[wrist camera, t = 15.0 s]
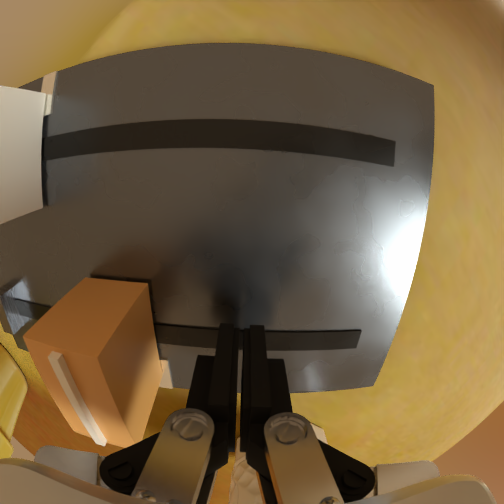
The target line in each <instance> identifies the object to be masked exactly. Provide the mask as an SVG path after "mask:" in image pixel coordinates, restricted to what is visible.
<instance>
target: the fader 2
mask: <svg viewBox="0 0 504 504" xmlns="http://www.w3.org/2000/svg"><path fill="white" fill-rule="evenodd" d="M23 339H24V341H25V343H26V346H27V348H28V350H29V353H30V355H31V357H32V359H33V361H34V364H35V366H36V368H37V370H38V372H39V374H40V376H41V378H42V380H43V381H44V383H45V385H46V387H47V389H48V391H49V392H50V394H51V396H52V398H53V399H54V401H55V403H56V404H57V406H58V408H59V409H60V411H61V412H62V414H63V416H64V417H65V419H66V420H67V422H68V423H69V425H70V426H71V428H72V429H73V431H74V432H77V433H80V434H82V435H85V436H88V437H91V438H93V440H94V441H95V443H96V444H99V445H102V446H105V445H106V442H107V443H110V444H113V445H117V446H120V447H124V448H127V447H129V446H131V445H133V444H136V443H138V442H140V441H142V439H143V435H144V432H145V429H146V426H147V422H148V419H149V416H150V413H151V410H152V406H153V403H154V400H155V397H156V394H157V391H158V388H159V385H160V382H161V379H162V376H163V375H162V370H161V365H160V360H159V355H158V349H157V344H156V338H155V332H154V325H153V319H152V311H151V304H150V296H149V287H148V283H139V282H127V281H117V280H106V279H96V278H87V277H85V278H84V279H83V280H82V281H81V282H79V283H78V284H77V285H76V286H75V287H74V288H73V289H71V290H70V291H69V292H68V293H67V294H66V295H65V296H64V297H63V298H61V299H60V300H59V301H58V302H57V303H56V304H55V305H54V306H53V307H52V308H51V309H50V310H49V311H48V312H46V313H45V314H44V315H43V316H42V317H41V318H40V319H39V320H38V321H37V322H36V323H35V324H34V325H33V326H32V327H31V328H30V329H29V330H28V331H27V332H26V333H25V334H24V335H23Z"/></svg>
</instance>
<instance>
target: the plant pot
mask: <svg viewBox="0 0 504 504" xmlns="http://www.w3.org/2000/svg"><path fill="white" fill-rule="evenodd" d="M26 392H27V382H26V379H25V377H24V375H23V373H22V371H21V370H20V368H19V367H18V365H17V364H16V362H15V361H14V359H13V358H12V357H11V355H10V354H9V353H8V352H7V351H6V349H5V348H4V347H3V346H2V345H1V344H0V459H3V458H11V455H12V453H13V447H12V445H11V443H10V441H11V437H12V434H13V430H14V427H15V424H16V421H17V417H18V414H19V411H20V409H21V406H22V403H23V400H24V398H25V395H26Z"/></svg>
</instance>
